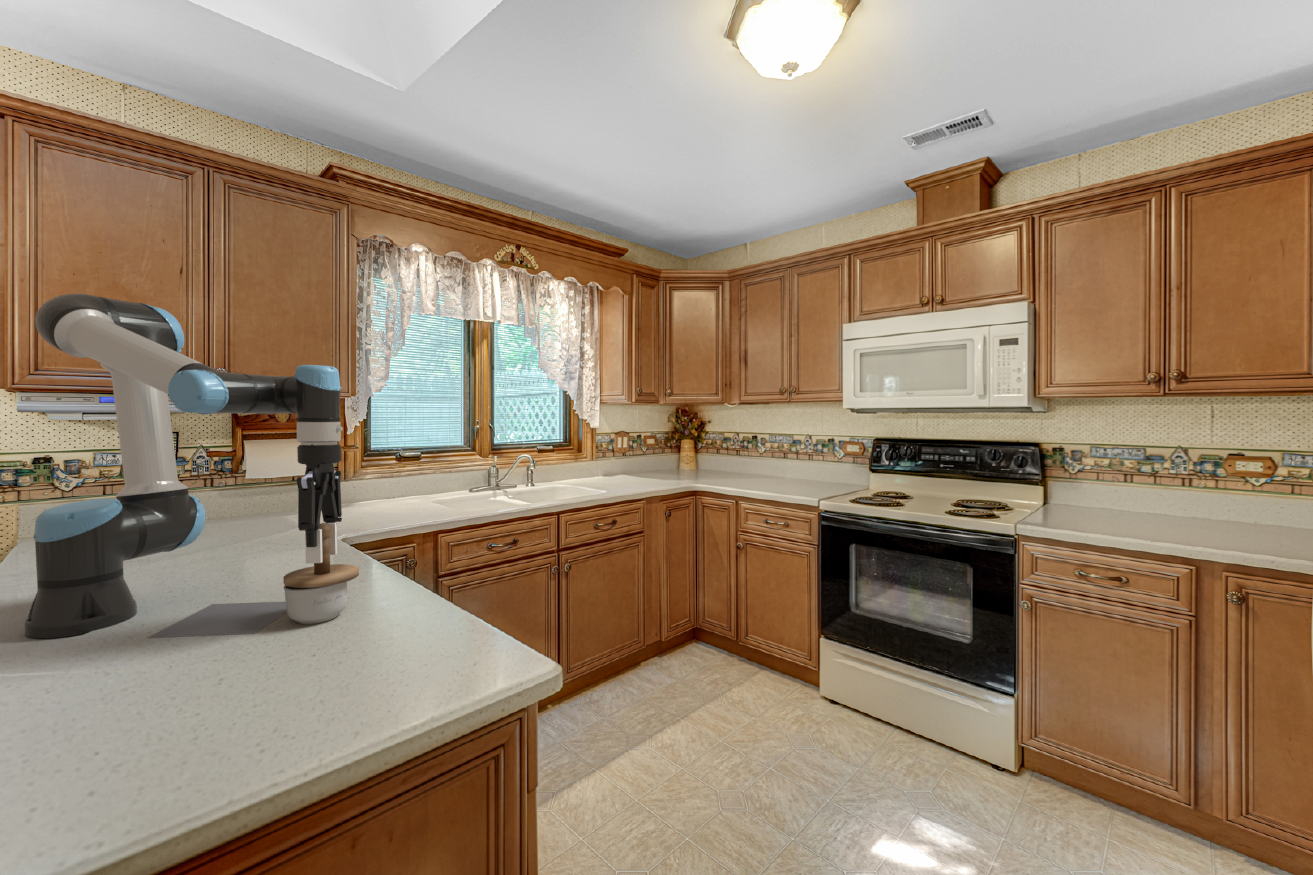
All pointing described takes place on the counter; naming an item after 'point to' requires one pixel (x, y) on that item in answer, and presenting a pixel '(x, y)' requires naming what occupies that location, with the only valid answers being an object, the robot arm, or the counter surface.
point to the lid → (322, 569)
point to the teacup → (315, 603)
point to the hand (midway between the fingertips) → (322, 558)
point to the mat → (225, 620)
